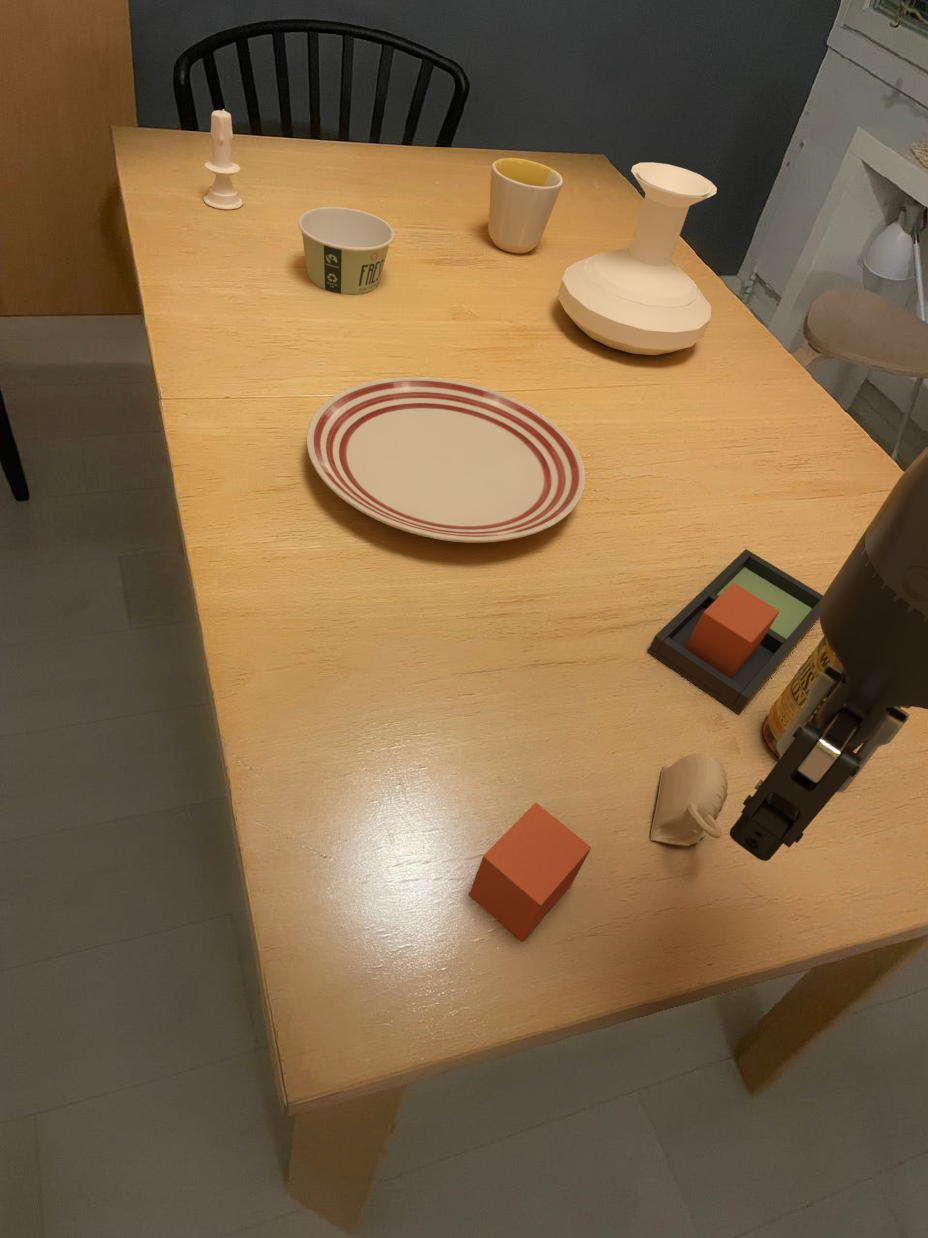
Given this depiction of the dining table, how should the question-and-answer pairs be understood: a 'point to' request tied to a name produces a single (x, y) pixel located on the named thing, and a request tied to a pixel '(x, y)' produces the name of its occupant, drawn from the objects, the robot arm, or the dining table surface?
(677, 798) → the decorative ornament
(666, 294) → the white vase
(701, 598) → the pad holder
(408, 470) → the dinner plate
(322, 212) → the food container
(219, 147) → the candle
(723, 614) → the orange rectangular block
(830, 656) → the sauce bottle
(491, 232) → the mug
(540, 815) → the orange block
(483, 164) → the dining table surface
